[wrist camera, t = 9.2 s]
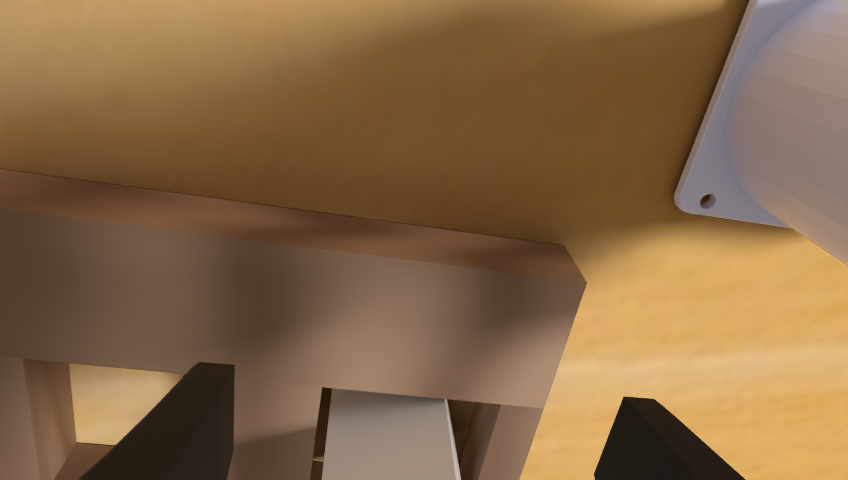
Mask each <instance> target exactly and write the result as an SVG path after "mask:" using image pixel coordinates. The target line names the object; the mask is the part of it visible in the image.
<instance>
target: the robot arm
mask: <svg viewBox="0 0 848 480" xmlns="http://www.w3.org/2000/svg"><path fill="white" fill-rule="evenodd" d="M707 194H710V198H709V200H708V201H707V202H706V203H704V204H700V200H701V199H702V197H703V196H705V195H707ZM674 202H675V204H676V205H677V207H678V208H680V209H681V210H682V211H684V212H686V213H691V214H698V215H705V216H712V217H719V218H725V219H732V220H739V221H746V222H752V223H759V224H766V225H773V226H779V227H786V228H792V229H794V230H795V231H797V232H798V233H800V234H801V235H803V236H804V237H806V238H807V239H809V240H810V241H812V242H813V243H815V244H816V245H817V246H819V247H820V248H822V249H823V250H825V251H826V252H828V253H829V254H831V255H832V256H834V257H835V258H837V259H838V260H840V261H841V262H843V263H844V264H845V265H847V266H848V0H750V1H749V3H748V6H747V8H746V11H745V14H744V16H743V19H742V21H741V24H740V26H739V29H738V32H737V34H736V37H735V39H734V42H733V44H732V47H731V50H730V52H729V55H728V57H727V60H726V62H725V65H724V68H723V70H722V73H721V75H720V78H719V80H718V83H717V86H716V88H715V91H714V93H713V96H712V98H711V101H710V104H709V106H708V109H707V111H706V114H705V116H704V119H703V122H702V124H701V127H700V129H699V132H698V134H697V137H696V140H695V142H694V145H693V147H692V150H691V152H690V155H689V158H688V160H687V163H686V165H685V168H684V171H683V173H682V176H681V178H680V181H679V183H678V186H677V189H676V191H675V194H674ZM234 381H235V365H231V364H219V363H206V362H198V363H197V364H195V365H194V366H193V367H192V368H191V369H190V370H189V371H188V372H187V373H186V374H185V375H184V376H183V378H182V379H181V380H180V381H179V382H178V383H177V384H176V385H175V386H174V387H173V388H172V389H171V390H170V392H169V393H168V394H167V395H166V396H165V397H164V398H163V399H162V400H161V401H160V402H159V403H158V404H157V405H156V406H155V407H154V408H153V409H152V410H151V411H150V412H149V413H148V414H147V415H146V416H145V417H144V418H143V419H142V420H141V421H140V422H139V423H138V424H137V425H136V426H135V427H134V428H133V429H132V430H131V431H130V432H129V433H128V434H127V435H126V436H125V437H124V438H123V439H122V440H121V441H120V442H119V443H117V444H116V445H115V446H114V447H113V448H112V449H111V450H110V451H109V452H108V453H107V454H106V455H105V456H104V457H102V458H101V459H100V460H99V461H98V462H97V463H96V464H95V465H93V466H92V467H91V468H90V469H89V470H88V471H87V472H85V473H84V474H83V475H82V476H81V477H80V478H79V479H78V480H227V476H228V472H229V468H230V464H231V460H232V455H233V451H234ZM594 477H595V480H745V479H744V478H743V477H742V476H741V475H740V474H739V473H738V472H736V471H735V470H734V469H733V468H732V467H731V466H730V465H729V464H727V463H726V462H725V461H724V460H723V459H722V458H721V457H720V456H718V455H717V454H716V453H715V452H714V451H713V450H712V449H711V448H710V447H709V446H707V445H706V444H705V443H704V442H703V441H702V440H701V439H700V438H699V437H697V436H696V435H695V434H694V433H693V432H692V431H691V430H690V429H689V428H687V427H686V426H685V425H684V424H683V423H682V422H681V421H680V420H678V419H677V418H676V417H675V416H674V415H673V414H672V413H670V412H669V411H668V410H667V409H666V408H665V407H663V406H662V405H661V404H660V403H658V402H657V401H656V400H655V399H647V398H635V397H623V400H622V403H621V405H620V408H619V410H618V413H617V416H616V418H615V421H614V423H613V426H612V429H611V431H610V434H609V436H608V439H607V442H606V444H605V447H604V449H603V452H602V455H601V457H600V460H599V462H598V465H597V468H596V470H595V473H594Z"/></svg>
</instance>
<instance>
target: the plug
mask: <svg viewBox="0 0 848 480" xmlns="http://www.w3.org/2000/svg"><path fill="white" fill-rule="evenodd" d="M322 480H461V475H460V469H459V462H458V455H457V449H456V442H455V435H454V430H453V425H452V420H451V415H450V410H449V405H448V400H447V399H439V398H429V397H419V396H408V395H398V394H387V393H377V392H367V391H356V390H346V389H335V388H332V394H331V402H330V411H329V420H328V429H327V437H326V446H325V455H324V464H323V472H322Z"/></svg>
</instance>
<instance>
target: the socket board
mask: <svg viewBox="0 0 848 480" xmlns="http://www.w3.org/2000/svg"><path fill="white" fill-rule="evenodd" d="M586 284H587V282H586V280H585V279H584V277H583V276H582V274H581V272H580V271H579V269H578V267H577V266H576V264H575V263H574V261H573V259H572V258H571V256H570V254H569V253H568V251H567V249H566V248H565V246H564V245H556V244H549V243H542V242H534V241H527V240H520V239H512V238H505V237H497V236H490V235H483V234H475V233H468V232H461V231H453V230H446V229H438V228H431V227H424V226H416V225H409V224H402V223H394V222H387V221H379V220H372V219H365V218H357V217H350V216H343V215H335V214H328V213H321V212H313V211H306V210H298V209H291V208H284V207H276V206H269V205H262V204H254V203H247V202H239V201H232V200H225V199H217V198H210V197H203V196H195V195H188V194H180V193H173V192H166V191H158V190H151V189H144V188H136V187H129V186H121V185H114V184H107V183H99V182H92V181H85V180H77V179H70V178H63V177H55V176H48V175H40V174H33V173H26V172H18V171H11V170H4V169H0V480H78V479H79V478H80V477H81V476H82V475H83V474H84V473H85V472H87V471H88V470H89V469H90V468H91V467H92V466H93V465H95V464H96V463H97V462H98V461H99V460H100V459H101V458H102V457H104V456H105V455H106V454H107V453H108V452H109V451H110V450H111V449H112V448H113V447H114V446H108V445H95V444H82V443H76V433H75V424H74V414H73V405H72V395H71V385H70V376H69V366H68V363H75V364H85V365H96V366H106V367H116V368H127V369H137V370H148V371H158V372H169V373H179V374H186V373H187V372H188V371H189V370H190V369H191V368H192V367H193V366H194V365H195V364H197V363H198V362H206V363H219V364H231V365H235V381H234V451H233V455H232V460H231V464H230V468H229V472H228V476H227V480H322V472H323V464H324V463H323V462H313V455H314V447H315V439H316V432H317V424H318V416H319V409H320V401H321V393H322V387H325V388H335V389H346V390H356V391H367V392H377V393H387V394H398V395H408V396H419V397H429V398H439V399H450V400H460V401H471V402H477V403H476V407H475V410H474V414H473V418H472V421H471V425H470V428H469V432H468V436H467V439H466V443H465V446H464V450H463V453H462V457H461V461H460V464H459V469H460V475H461V480H519V479H520V476H521V473H522V470H523V467H524V464H525V461H526V458H527V455H528V453H529V450H530V447H531V444H532V441H533V438H534V435H535V432H536V429H537V426H538V423H539V421H540V418H541V415H542V412H543V409H544V406H545V403H546V400H547V397H548V394H549V391H550V389H551V386H552V383H553V380H554V377H555V374H556V371H557V368H558V365H559V362H560V359H561V356H562V354H563V351H564V348H565V345H566V342H567V339H568V336H569V333H570V330H571V327H572V324H573V322H574V319H575V316H576V313H577V310H578V307H579V304H580V301H581V298H582V295H583V292H584V290H585V287H586Z"/></svg>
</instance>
